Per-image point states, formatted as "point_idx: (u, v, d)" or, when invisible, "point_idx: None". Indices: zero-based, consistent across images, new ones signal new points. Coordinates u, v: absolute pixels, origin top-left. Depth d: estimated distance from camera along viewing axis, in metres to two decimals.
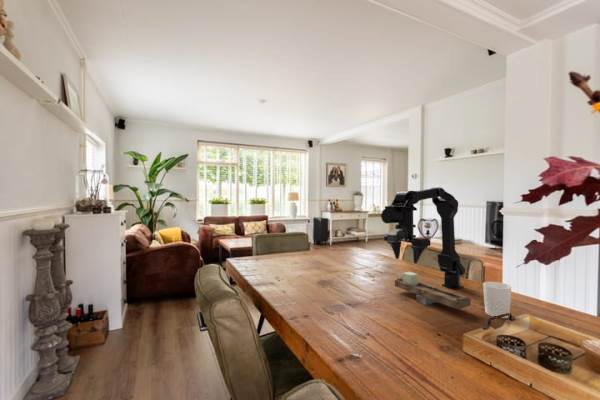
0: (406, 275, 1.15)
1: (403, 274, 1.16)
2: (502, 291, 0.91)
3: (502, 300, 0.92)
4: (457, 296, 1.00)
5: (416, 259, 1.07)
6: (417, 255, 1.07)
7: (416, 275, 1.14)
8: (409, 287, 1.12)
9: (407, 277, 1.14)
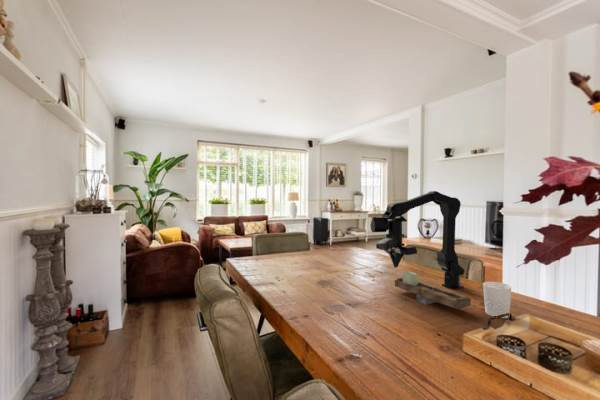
0: (406, 275, 1.15)
1: (403, 274, 1.16)
2: (502, 291, 0.91)
3: (502, 300, 0.92)
4: (457, 296, 1.00)
5: (396, 264, 1.22)
6: (397, 260, 1.22)
7: (416, 275, 1.14)
8: (409, 287, 1.12)
9: (407, 277, 1.14)
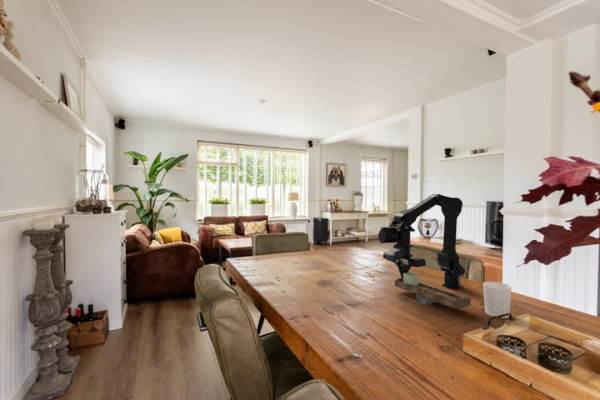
0: (407, 275, 1.15)
1: (404, 274, 1.16)
2: (502, 291, 0.91)
3: (502, 300, 0.92)
4: (457, 296, 1.00)
5: None
6: (405, 271, 1.18)
7: (417, 275, 1.14)
8: (409, 287, 1.12)
9: (408, 277, 1.14)
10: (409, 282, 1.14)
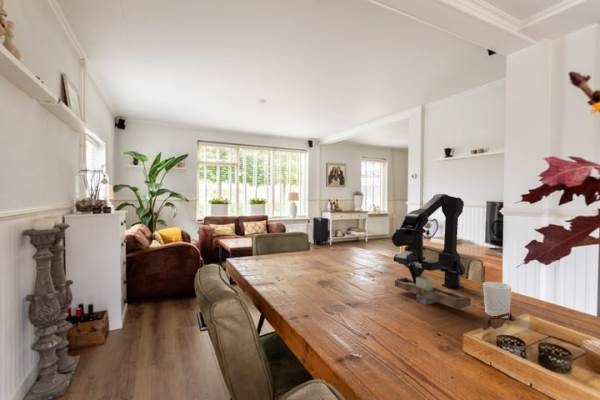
0: (420, 279, 1.09)
1: (417, 278, 1.10)
2: (502, 291, 0.91)
3: (502, 300, 0.92)
4: (457, 296, 1.00)
5: None
6: (418, 275, 1.12)
7: (431, 279, 1.08)
8: (409, 287, 1.12)
9: (421, 281, 1.08)
10: (422, 286, 1.08)
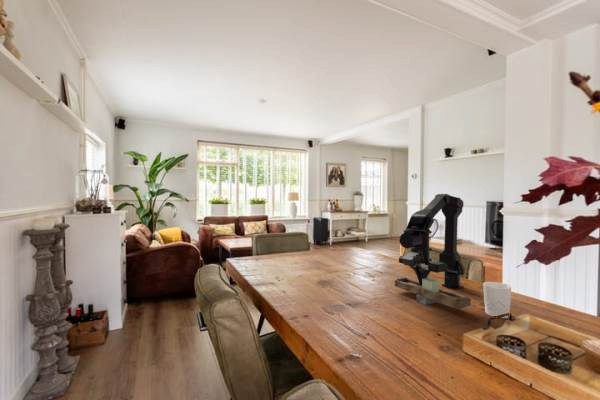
0: (426, 281, 1.06)
1: (423, 280, 1.08)
2: (502, 291, 0.91)
3: (502, 300, 0.92)
4: (457, 296, 1.00)
5: None
6: (424, 277, 1.09)
7: (437, 281, 1.06)
8: (409, 287, 1.12)
9: (428, 283, 1.06)
10: (429, 289, 1.05)
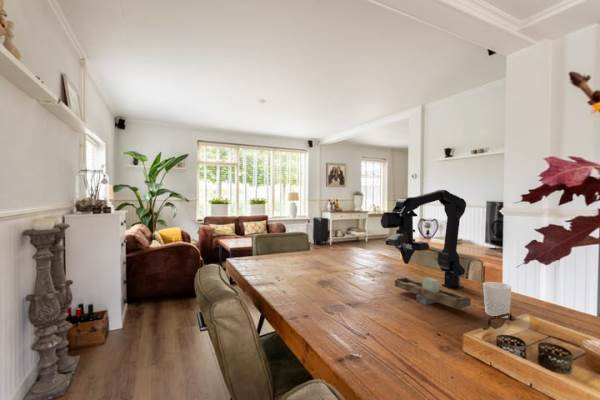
0: (426, 281, 1.06)
1: (423, 280, 1.08)
2: (502, 291, 0.91)
3: (502, 300, 0.92)
4: (457, 296, 1.00)
5: (407, 260, 1.18)
6: (408, 256, 1.18)
7: (437, 281, 1.06)
8: (409, 287, 1.12)
9: (428, 283, 1.06)
10: (429, 289, 1.05)
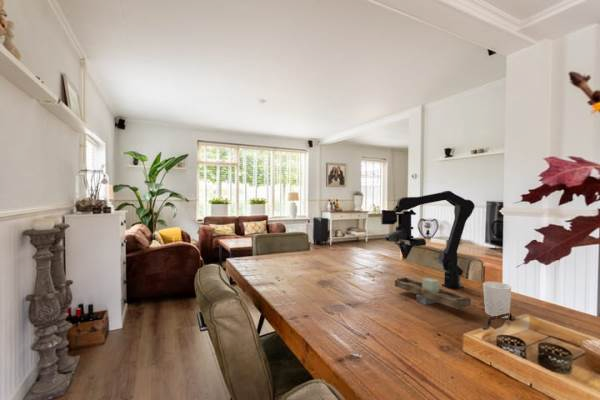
0: (426, 281, 1.06)
1: (423, 280, 1.08)
2: (502, 291, 0.91)
3: (502, 300, 0.92)
4: (457, 296, 1.00)
5: (406, 255, 1.27)
6: (407, 251, 1.27)
7: (437, 281, 1.06)
8: (409, 287, 1.12)
9: (428, 283, 1.06)
10: (429, 289, 1.05)
